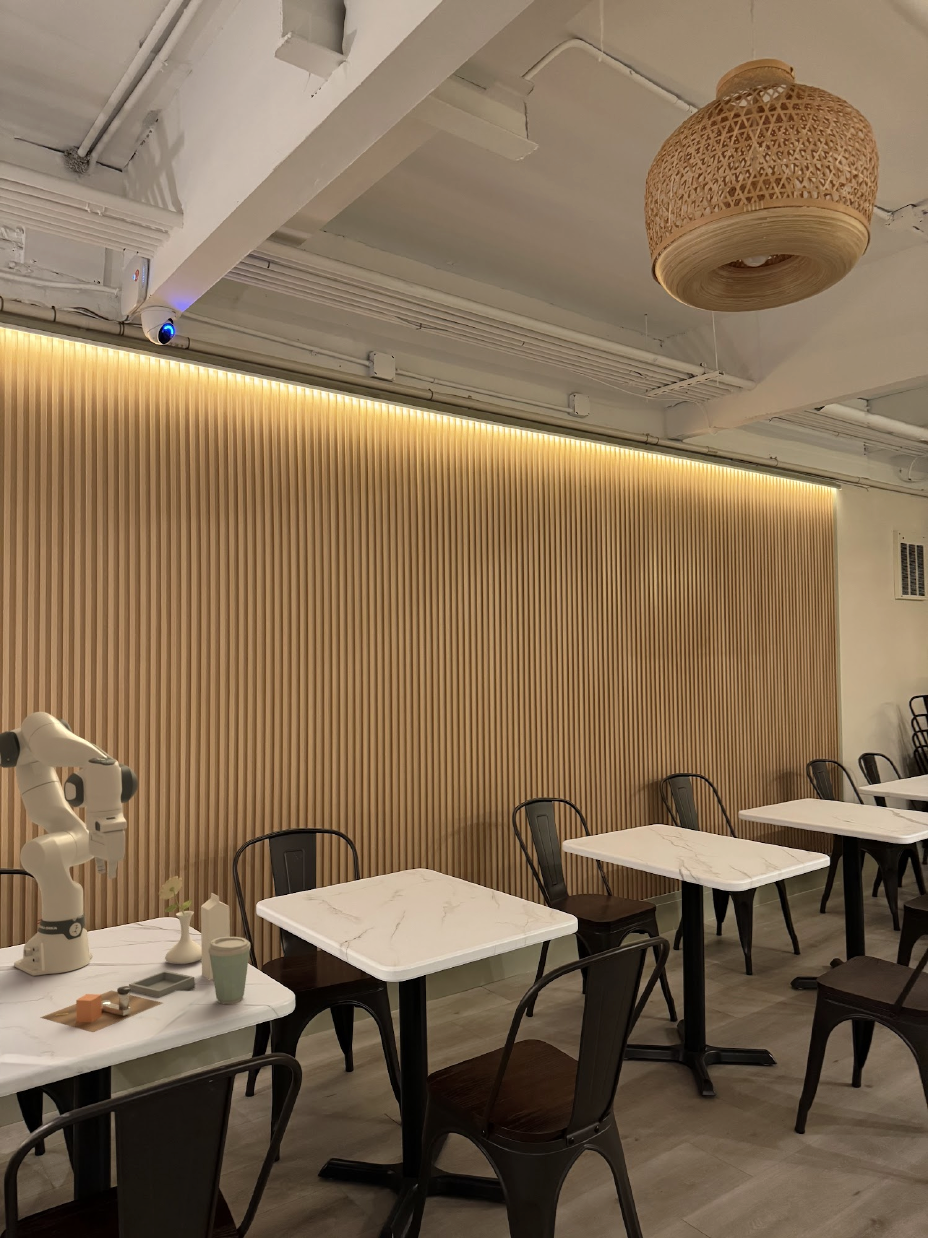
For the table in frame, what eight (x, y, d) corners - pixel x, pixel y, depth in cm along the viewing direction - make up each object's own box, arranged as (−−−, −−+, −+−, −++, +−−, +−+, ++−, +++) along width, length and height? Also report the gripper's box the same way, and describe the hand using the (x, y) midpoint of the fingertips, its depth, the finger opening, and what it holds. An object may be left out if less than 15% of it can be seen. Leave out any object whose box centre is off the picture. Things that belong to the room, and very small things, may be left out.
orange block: (76, 1021, 209) (76, 1000, 209) (86, 1015, 212) (86, 994, 213) (91, 1022, 208) (91, 1000, 208) (101, 1016, 212) (101, 994, 212)
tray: (129, 996, 229) (129, 984, 229) (164, 982, 239) (164, 970, 239) (159, 1003, 223) (159, 991, 223) (194, 988, 233) (194, 977, 233)
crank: (91, 1010, 215) (91, 984, 215) (104, 1005, 218) (104, 980, 218) (121, 1018, 209) (121, 991, 210) (134, 1012, 212) (134, 987, 213)
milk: (209, 980, 239) (207, 898, 240) (201, 975, 244) (200, 894, 245) (231, 975, 242) (229, 894, 244) (222, 970, 247) (221, 890, 249)
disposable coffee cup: (249, 990, 230) (248, 931, 231) (254, 1003, 220) (253, 942, 221) (207, 996, 227) (206, 937, 228) (211, 1011, 217) (210, 949, 218)
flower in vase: (197, 952, 264) (196, 868, 266) (211, 961, 255) (210, 874, 257) (154, 962, 256) (153, 875, 258) (166, 972, 247) (165, 882, 249)
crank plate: (40, 1023, 212) (40, 1017, 212) (111, 996, 229) (111, 990, 229) (93, 1039, 202) (93, 1031, 202) (163, 1009, 219) (163, 1002, 219)
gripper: (81, 819, 232) (82, 872, 231) (102, 826, 216) (104, 883, 215) (106, 816, 236) (107, 868, 235) (128, 822, 220) (130, 878, 218)
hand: (106, 875), depth 224 cm, fingers open, 8 cm apart
